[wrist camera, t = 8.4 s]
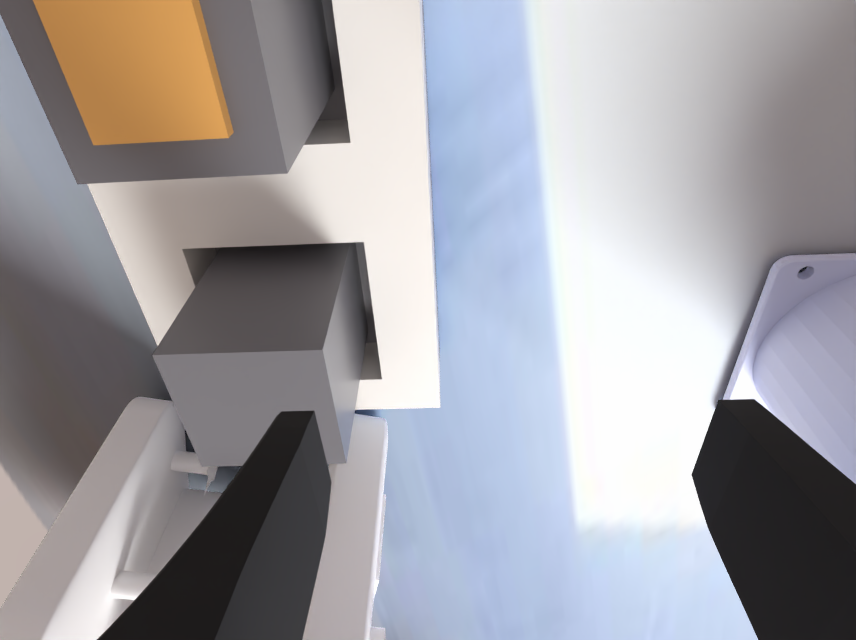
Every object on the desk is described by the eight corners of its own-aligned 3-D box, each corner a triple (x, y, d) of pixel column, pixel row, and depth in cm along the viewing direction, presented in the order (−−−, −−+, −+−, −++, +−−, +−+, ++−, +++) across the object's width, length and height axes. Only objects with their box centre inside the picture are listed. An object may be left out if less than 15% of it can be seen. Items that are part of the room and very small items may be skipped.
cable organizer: (142, 348, 22) (-74, 672, 13) (404, 389, 23) (383, 714, 14) (169, 554, 31) (52, 835, 22) (358, 576, 32) (327, 852, 23)
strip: (-155, -657, 9) (-1085, -1546, 4) (388, -714, 9) (305, -1799, 3) (214, 359, 22) (138, 512, 17) (439, 352, 22) (441, 506, 16)
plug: (307, -95, 13) (222, -97, 8) (335, 89, 15) (284, 179, 10) (137, -83, 13) (-56, -77, 8) (190, 97, 15) (69, 190, 10)
